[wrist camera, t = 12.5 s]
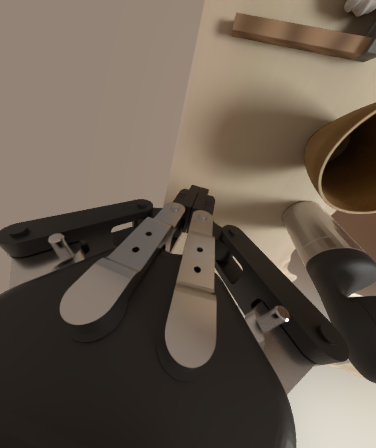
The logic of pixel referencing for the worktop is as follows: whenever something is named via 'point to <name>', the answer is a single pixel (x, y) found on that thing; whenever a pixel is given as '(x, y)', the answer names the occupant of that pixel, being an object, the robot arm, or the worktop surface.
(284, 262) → the worktop surface
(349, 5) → the garlic
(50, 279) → the robot arm
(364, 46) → the guide track
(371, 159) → the plant pot
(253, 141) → the worktop surface
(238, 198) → the worktop surface
